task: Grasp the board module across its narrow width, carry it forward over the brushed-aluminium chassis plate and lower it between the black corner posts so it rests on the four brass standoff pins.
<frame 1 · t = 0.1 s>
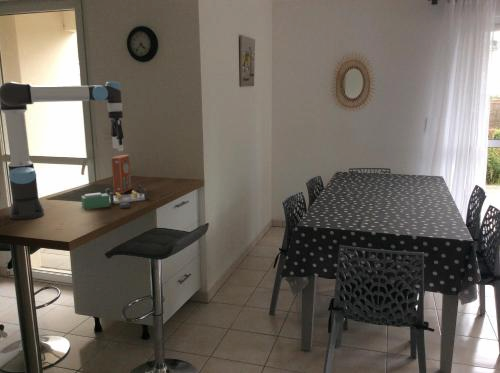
hand: (118, 149, 255), 28 cm above the counter, fingers open, 13 cm apart
orange cardboard box: (122, 191, 280), on the counter
tape roll: (124, 207, 241), on the counter
chassis: (126, 199, 258), on the counter
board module: (96, 206, 244), on the counter
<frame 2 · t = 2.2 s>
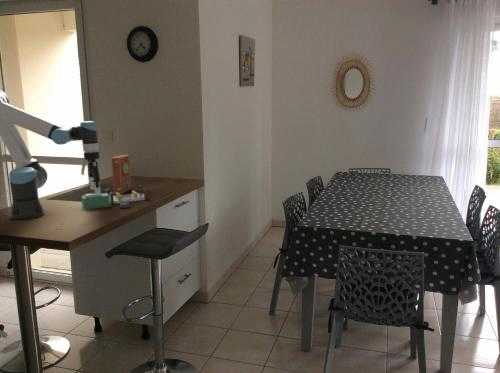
hand: (95, 191, 242), 8 cm above the counter, fingers open, 13 cm apart
nothing on the counter moved.
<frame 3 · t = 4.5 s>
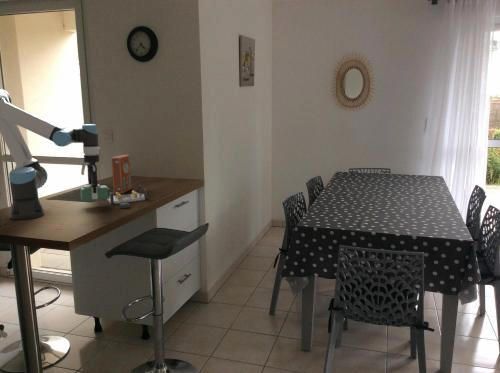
hand: (93, 197, 243), 5 cm above the counter, fingers closed on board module, 7 cm apart
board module: (94, 198, 243), point 4 cm above the counter, touching gripper
everything else where it was.
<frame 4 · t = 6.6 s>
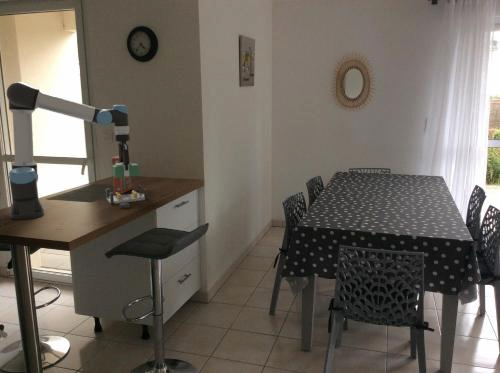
hand: (125, 175, 255), 14 cm above the counter, fingers closed on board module, 7 cm apart
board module: (126, 175, 255), point 14 cm above the counter, touching gripper
everything else where it was.
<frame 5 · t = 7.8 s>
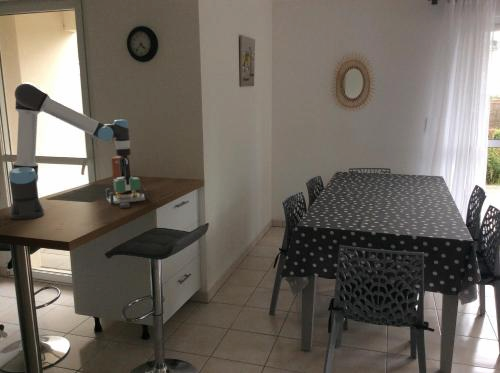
hand: (126, 188, 257), 6 cm above the counter, fingers closed on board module, 7 cm apart
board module: (127, 189, 257), point 6 cm above the counter, touching gripper
everything else where it was.
when the fingers open (5 cm above the counter, at t = 8.5 s): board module stays where it is, resting on chassis.
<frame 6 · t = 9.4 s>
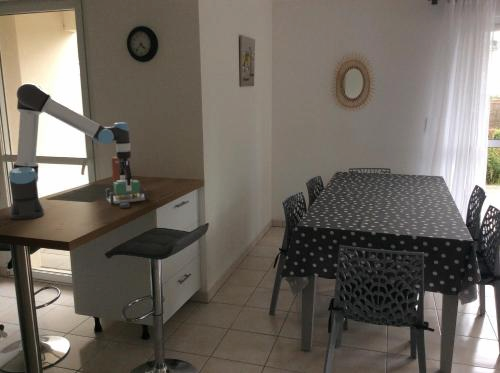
hand: (126, 188, 257), 6 cm above the counter, fingers open, 13 cm apart
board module: (127, 192, 257), point 4 cm above the counter, touching chassis
everything else where it was.
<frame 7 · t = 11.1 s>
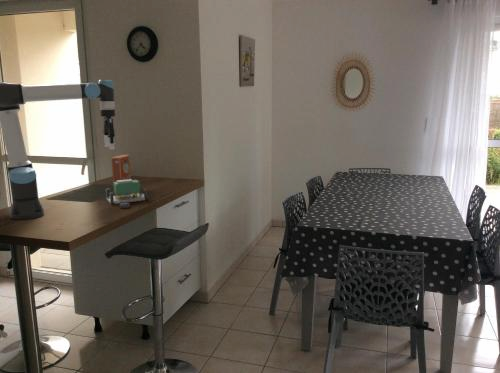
hand: (109, 148, 253), 29 cm above the counter, fingers open, 13 cm apart
nothing on the counter moved.
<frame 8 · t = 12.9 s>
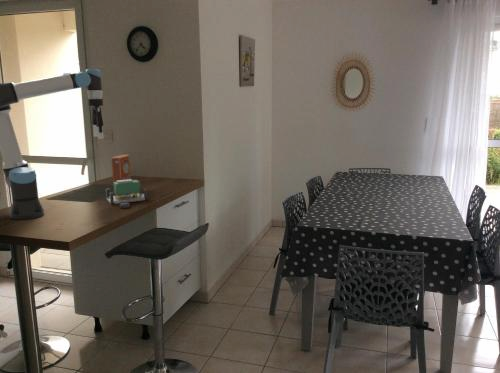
hand: (98, 137, 254), 35 cm above the counter, fingers open, 13 cm apart
nothing on the counter moved.
at the end: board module 0.4 cm off-centre on the chassis, point 4.0 cm above the chassis's base; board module tilted 0°; the gripper is holding nothing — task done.
